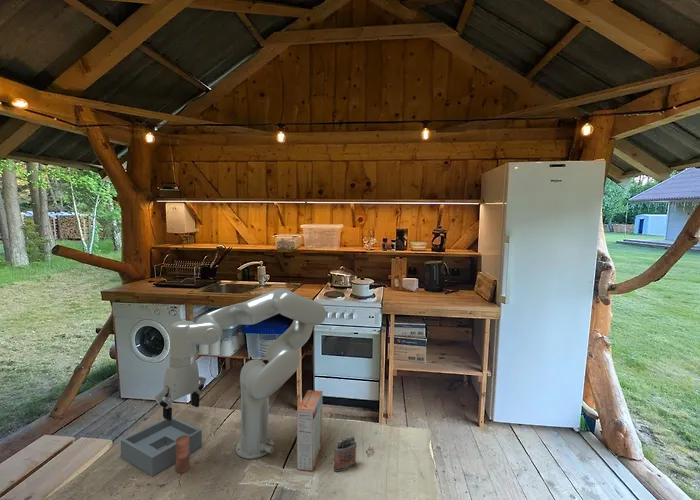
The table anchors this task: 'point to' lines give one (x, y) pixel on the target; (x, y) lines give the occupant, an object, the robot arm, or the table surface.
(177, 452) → the peg
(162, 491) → the table surface
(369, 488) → the table surface
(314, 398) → the cracker box
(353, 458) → the lighter
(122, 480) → the table surface
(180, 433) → the tray
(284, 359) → the robot arm
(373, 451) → the table surface
